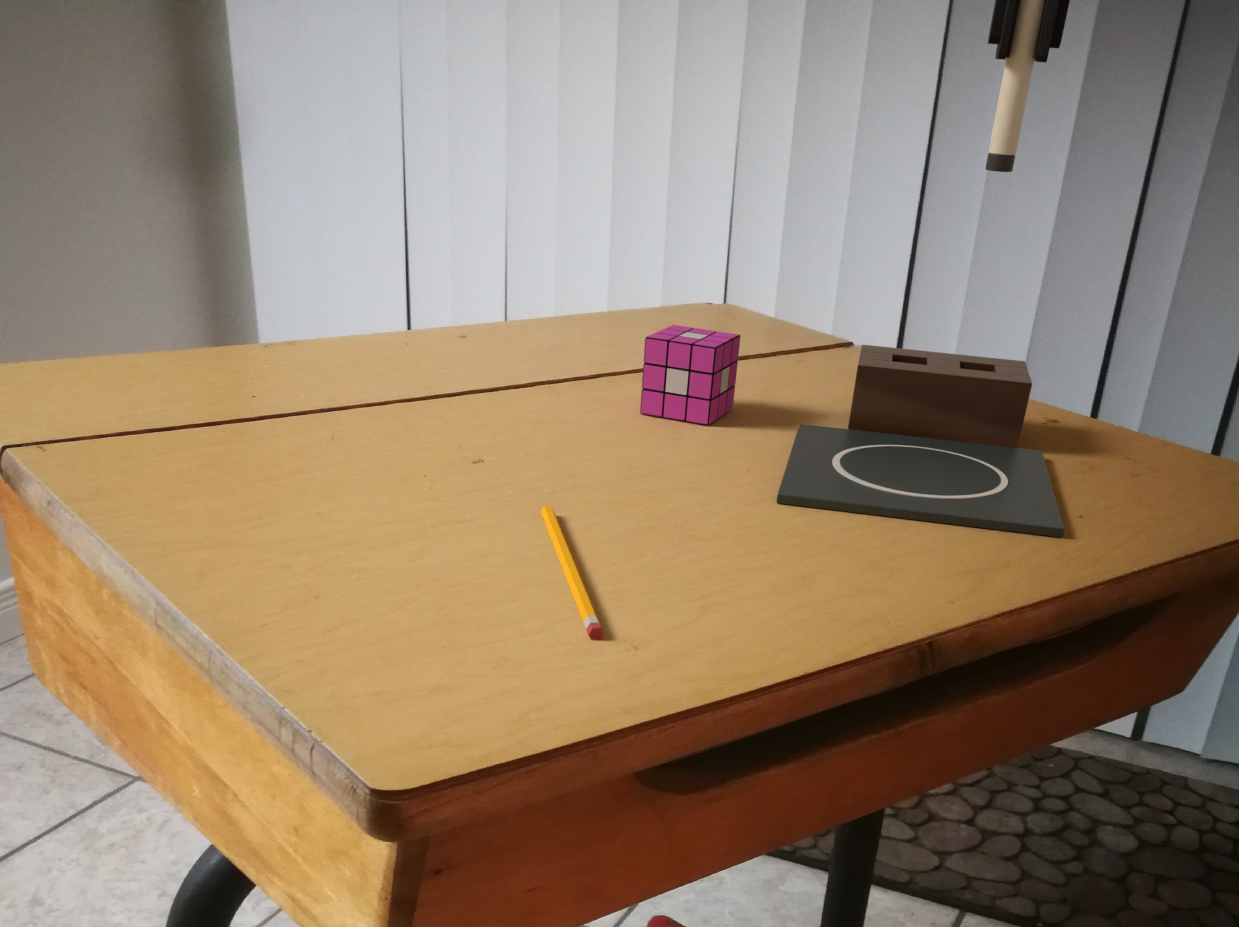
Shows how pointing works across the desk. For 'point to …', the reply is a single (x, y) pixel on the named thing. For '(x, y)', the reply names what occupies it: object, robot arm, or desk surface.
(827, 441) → the board
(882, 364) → the holder
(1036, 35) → the marker
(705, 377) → the puzzle toy
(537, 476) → the desk surface
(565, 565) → the pencil
